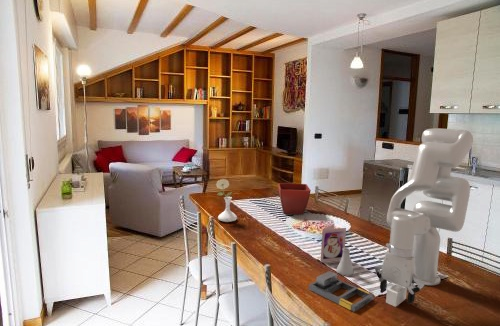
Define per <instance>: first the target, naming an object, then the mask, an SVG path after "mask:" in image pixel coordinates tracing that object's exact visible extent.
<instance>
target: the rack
mask: <svg viewBox="0 0 500 326" xmlns="http://www.w3.org/2000/svg"><path fill="white" fill-rule="evenodd" d="M340 289H344V290H347V291H346V292H344V293H343V294H341V295H339V296H337V295H335V294H333V293H335V292H336V291H338V290H340ZM308 290H309V291H311V292H313V293H315V294H317V295H319V296H320V297H323V298H325V299H327V300H329V301H331V302H333V303H335V304H337V305H339V306H341V307H343V308H345V309H347V310H349V311H351V312H352V313H356V312H357V311H358V310H360V309H361V308H363V307H365V306H366V305H368V304H369V303H371V302H372V301H373V300H374V294H373V293H371V292H369V291H367V290H364V289H363V288H360V287H357V286H355V285H352V284H350V283H348V282H345V281H343V280H341V279H339V278H338V273H337V272H336V273H335V272H333V271H332V270H328V271H326V272H323V273H322V274H320V275H317V276H316V280H314V281H313V282H311V283H309V284H308ZM356 295H357V296H360V297H362V298H361V299H360V300H358V301H357V302H355V303H353V302H350V301H348V300H349V299H350V298H352V297H353V296H356Z"/></svg>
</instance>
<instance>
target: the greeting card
mask: <svg viewBox="0 0 500 326" xmlns="http://www.w3.org/2000/svg"><path fill="white" fill-rule="evenodd" d="M335 225H336V224H335V223H332V224H331V225H329V226H326V227H325V228H323V229H322V230H321V231H322V233H321V249H320V263H329V262H338V261H339V262H340V261H341V258H342V255H343V250H342V249H343V248H346V235H347V227H339V228H335Z"/></svg>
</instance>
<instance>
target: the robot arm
mask: <svg viewBox="0 0 500 326" xmlns="http://www.w3.org/2000/svg"><path fill="white" fill-rule="evenodd" d="M473 136H474V135H473V133H472V132H471V131H470V130H466V129H455V128H452V129H451V128H439V127H437V128H435V127H434V128H427V129H425V130H424V131H423V132H422V135H421V142H422V143H421V144H419V145H418V147H417V149H416V153H415V157H414V161H413V165H412V168H411V173H410V177H409V180H408V181H407V182H405V184H403V185H402V186H401V187H399V188H398V189H397V190H396V191H395V192H394V194H393V195H392V197H391V198H390V202H389V205H388V210H387V214H386V223H387V225H388V226H390V235H389V237H390V238H389V242H388V243H387V242H386V244H385V247H386V248H388V250H387V251H385V254H384V255H385V256H384V257H383V261H382V264H380V265H375V266H373V267H374V270H375V271H374V272H375V273H376V274H375V275H376V276H377V277H378V281H379V282H380V283H379V289H380V290H379V291H380V293H381V294H383V293H384V292H387V289H388V288H387V287H388V282H389V283H393V284H397V285H400V286H402V287H406V288H407V291H408V292H407V299H406V300H407V301H406V303H407V305H411V304H412V303H414V302H415V300H416V299H415V298H416V293H418V292H420V291H421V290H422V289H423V288H424V286H437V285H439V284H441V278H440V276H439V275H438V274H437V271H438V264H439V256H440V247H441V236H440V232H439V231H438V229H441V230H445V231H449V232H455V233H456V232H457V233H458V232H460V231H461V230H462V229H463V227H464V224H465V220H466V215H467V211H468V205H469V200H470V193H471V186H470V183H469V181H468V180H467V179H466V178H464V177H458V176H451V173H452V168H453V169H454V168H455V169H456V168H458V167H459V166H460V165H461V164H462V162H463V161H464V160H465V157H466V156H467V155H468V154H469V152H470V150H471V148H472V146H473V144H474V143H473V142H474V137H473ZM418 192H422V193H423V195H424V196H425V197H428V198H430V199H436V200H440V201H445V202H451V203H452V205H450V204H445V203H442V202H437V201H431V200H419V201H417V202H416V204H415V205H414V206H413V210H409V209H406V208H401V206H402V203H403V201H404V200H405V199H406V198H408V196H410V195H413V194H415V193H418ZM414 283H416V284H417V286H416V285H415V284H414Z"/></svg>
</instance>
